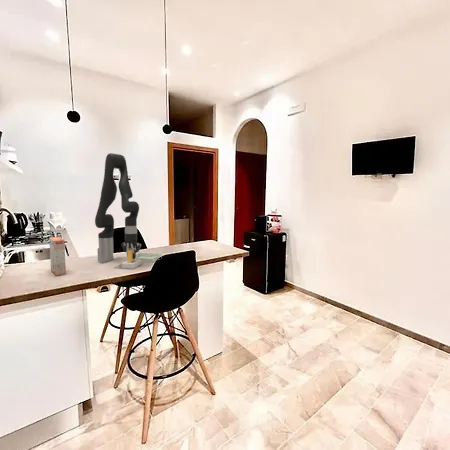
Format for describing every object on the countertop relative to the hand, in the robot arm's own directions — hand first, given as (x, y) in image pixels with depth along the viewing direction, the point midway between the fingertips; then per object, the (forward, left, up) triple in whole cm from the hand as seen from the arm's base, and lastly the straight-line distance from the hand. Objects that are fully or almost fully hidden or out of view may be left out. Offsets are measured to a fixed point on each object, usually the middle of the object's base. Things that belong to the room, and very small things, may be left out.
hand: (131, 258), depth 171 cm
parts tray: (+1, +19, -6) cm, 20 cm away
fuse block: (-2, 0, -6) cm, 6 cm away
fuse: (0, -1, -4) cm, 4 cm away
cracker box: (-37, -19, -6) cm, 42 cm away
